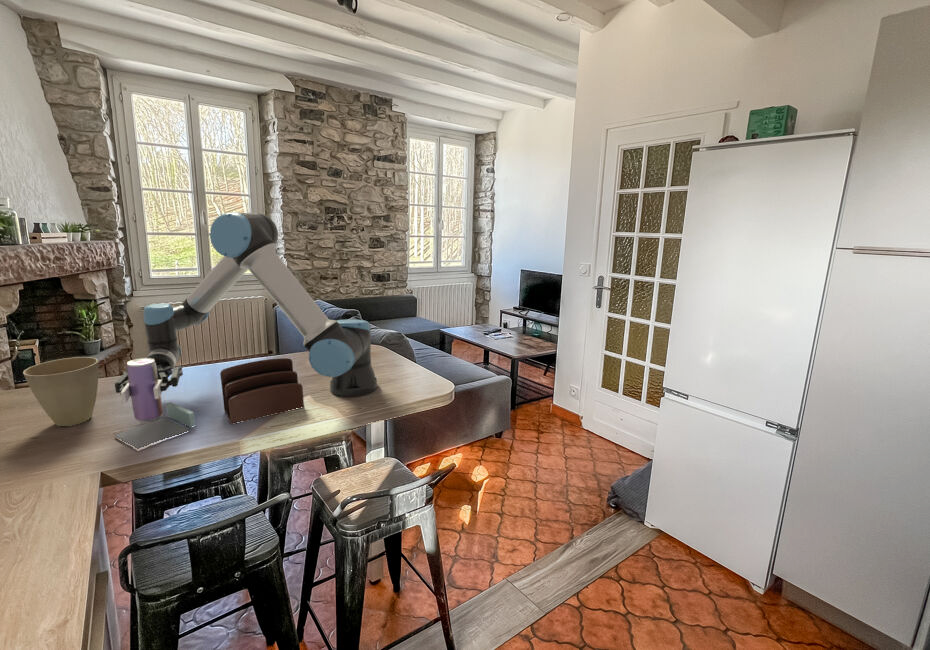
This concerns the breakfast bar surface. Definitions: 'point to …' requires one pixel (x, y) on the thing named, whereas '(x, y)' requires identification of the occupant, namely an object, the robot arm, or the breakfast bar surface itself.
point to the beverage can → (144, 389)
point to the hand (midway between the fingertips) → (139, 395)
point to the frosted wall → (180, 414)
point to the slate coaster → (151, 433)
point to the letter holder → (260, 389)
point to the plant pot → (65, 388)
